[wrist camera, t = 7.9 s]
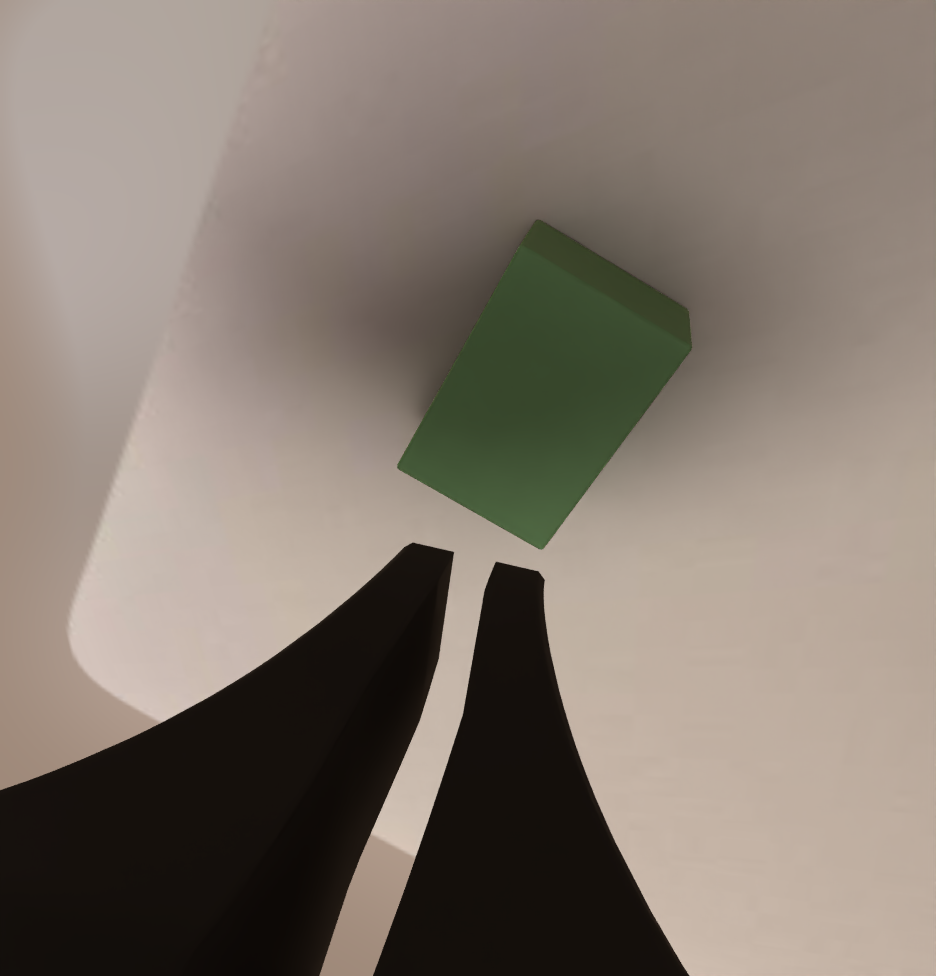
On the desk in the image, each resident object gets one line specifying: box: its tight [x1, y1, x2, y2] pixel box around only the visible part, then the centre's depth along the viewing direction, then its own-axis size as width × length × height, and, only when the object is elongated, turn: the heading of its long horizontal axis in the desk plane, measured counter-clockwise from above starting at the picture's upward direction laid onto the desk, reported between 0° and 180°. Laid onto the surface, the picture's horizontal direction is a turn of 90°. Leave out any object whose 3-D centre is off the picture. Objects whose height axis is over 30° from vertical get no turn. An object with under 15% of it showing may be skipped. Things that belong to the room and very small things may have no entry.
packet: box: [397, 220, 692, 550], centre depth 18 cm, size 6×4×2 cm, turn 152°
